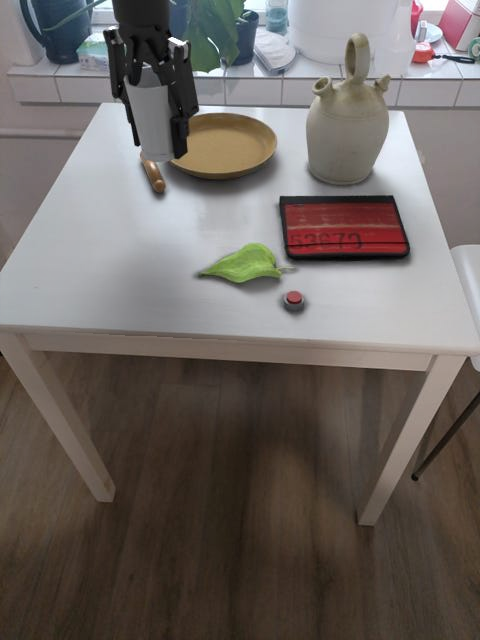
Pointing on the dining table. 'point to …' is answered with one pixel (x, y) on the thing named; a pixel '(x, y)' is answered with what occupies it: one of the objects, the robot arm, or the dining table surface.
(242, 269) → the leaf
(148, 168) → the dowel
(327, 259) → the notebook
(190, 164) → the plant saucer
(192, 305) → the dining table surface
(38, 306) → the dining table surface
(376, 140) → the jug
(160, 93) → the cup
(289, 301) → the push button
